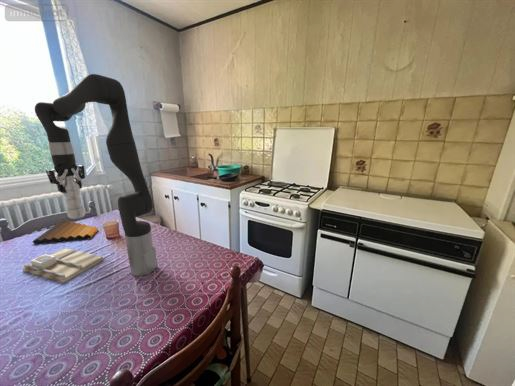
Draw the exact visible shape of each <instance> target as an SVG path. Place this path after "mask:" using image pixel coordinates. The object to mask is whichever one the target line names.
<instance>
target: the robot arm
mask: <svg viewBox="0 0 515 386" xmlns="http://www.w3.org/2000/svg"><path fill="white" fill-rule="evenodd" d="M88 103H97V104H101V105H106V106H107V105H108V106H109V109H110V113H111V124H110V127H109V130H108V132H107V135H106V140H105V144H106V147H107V151H108V156H109V159H110V161H111V163H112V164H113V165H114V166H115V167H116V168H117V169H118V170H119V171H121V172H122V173H123V175H124V176H126V177H127V178H128V180H129V181H130V183H131V185H132V186H133V189H134V192H130V193H127V194H123V195H120V196H119V197H118V200H117V207H118V212H119V216H120V220H121V226H122V229H123V232H124V237H125V238H124V239H125V244H126V245H125V246H126V249H127V257H128V262H129V268H130V274H131V275H133V276H135V277H141V276H149V275H150V274H151V273H152V272H154V270H156V269H157V268H158V260H157V259H158V258H157V252H156V247H154V245H153V235H152V228H151V223H150V222H148V221H145V220H137V218H138V217H140V216H143V215H147V214H149V213H151V212H152V211H153V205H154V203H153V199H152V196H151V195H152V194H151V192H150V190H149V188H148V185H147V182H146V178H145V176H144V173H143V169H142V166H141V163H140V162H141V161H140V158H139V153H138V150H137V145H136V142H135V137H134V135H133V130H132V127H131V126H132V125H131V122H130V116H129V112H128V105H127V97H126V93H125V89H124V86H123V85H122V84H121V82H120V81H119V80H117V79H114V78H111V77H107V76H104V75H101V74H97V73H92V74H91V73H90V74H88V75H86V76H84V77H83V78H82V80H80V81H79V82H78V83H77V84H76V85H75V86H74V87H73V88H72V89H71V90H70V91H69V92H67V93H65V94H63V95H61V96H60V97H57V98H56V99H54V100H53V102H45V101H44V102H42V101H39V102H37V103H36V104H35V106H34V113H35V116H36V117H37V118H38V120H39V122H40V123H41V125H42V127H43V129H44V130H45V133H46V136H47V137H46V138H47V141H48V147H49V153H50V156H51V162H52V164H53V167H54V168H53V169H52V168H51V169H46V170H45V173H46V175H47V178H48V180H49V183H50V184H54V185H56V187H57V191H58V192H59V193H61V194H63V193H65V189H64V185H63V182H64V179H65V177H66V176H72V175H73V177H74V179H73V180H74V181H75V182H76V183H77V184H78V185H79V187H80V188H79V189H80V190H81V189H82V187H83V183H82V181H83V179H85V178H86V171H85V166H84V165H80V164H79V165H77V164H76V163H77V161H76V158H75V156H76V155H75V153H74V147H73V145H72V142H71V137H70V132H69V130H68V128H65V127H61V126H57V125H56V123H55V122H67V121H70V119H72V117H74V116H75V115H77V114H79V113H81V112H83V111H84V110H85V108H86V104H88ZM155 268H156V269H155Z"/></svg>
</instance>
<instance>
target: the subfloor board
mask: <svg viewBox="0 0 515 386" xmlns="http://www.w3.org/2000/svg"><path fill="white" fill-rule="evenodd" d="M50 255H51V256H55V258H56V262H57V263H55V264H53V265H51V266H49V267H47V268H45V269H42V268H39V267H35V266H32V264H31V263H30V264H27V263H24V264H23V267H21V268H22V271H23V272H25V273H30V274H33V275H35V276H39V277H42V278H46V279H50V280H54V281H57V282H60V283H63V284H64V283H66V282H68V281H70V280H71V279H73V278H75V277H76V276H78V275H80V274H81V273H84V272H85V271H86V270H88V269H90V268H92V267H93V266H95V265H97V264H98V263H100V262H102V261H104V257H103V256H101V255H96V254H93V253H88V252H84V251H83V252H82V251H78V250H74V249H72V248H62V249H61V250H58V251H56V252H53V253H52V254H50Z"/></svg>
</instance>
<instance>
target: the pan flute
mask: <svg viewBox="0 0 515 386" xmlns="http://www.w3.org/2000/svg"><path fill="white" fill-rule="evenodd" d="M98 230H99V227H98V226H95V225H94V226H92V225H88V224H84V223H80V222H76V221H70V220H65V219H61V220H60V221H58V223H56V224H55V225H53V226H52V227H50V228H49V229H48V230H47V231H45V232H43V233H42V234H41V235H40V236H38V237H37V238H35V239H33V241H32V243H33V245H37V244H41V245H42V244H49V243H59V242H67V241H68V242H70V241H71V242H72V241H82V240H89V239H90V240H91V239H92V238H93V237H94V236H95V234H96V233H97V232H98Z"/></svg>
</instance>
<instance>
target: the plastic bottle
mask: <svg viewBox="0 0 515 386" xmlns="http://www.w3.org/2000/svg"><path fill="white" fill-rule="evenodd" d="M75 181H76V180H75V179H74V177H73V175H72V176H66V177H65V179H64V181H63V185H64V189H65V193H62V194H63V196H64V200H65V203H66V215H67V217H68V218H69V219H70V220H71V219H72V220H76V219H81V218H83V217H85V215H86V210H85V207H84V205H83V202H82V200H81V193H80V192H81V189H79V188H80V187H79V185H78V184H77V183H76V182H75Z"/></svg>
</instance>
